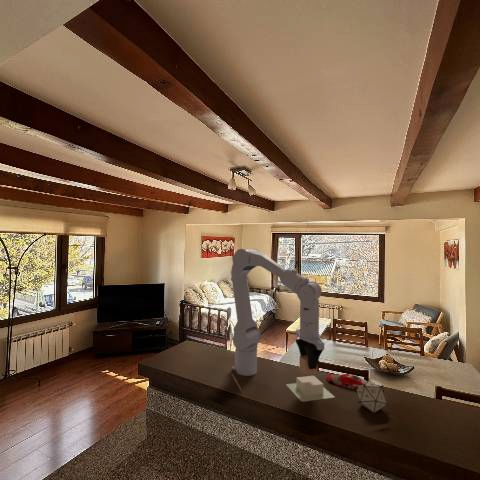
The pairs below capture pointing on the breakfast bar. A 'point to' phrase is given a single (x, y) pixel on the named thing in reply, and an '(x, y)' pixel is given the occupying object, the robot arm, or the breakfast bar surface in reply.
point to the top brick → (306, 366)
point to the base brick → (309, 385)
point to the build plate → (303, 398)
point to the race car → (346, 380)
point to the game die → (371, 396)
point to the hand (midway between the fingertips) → (308, 365)
